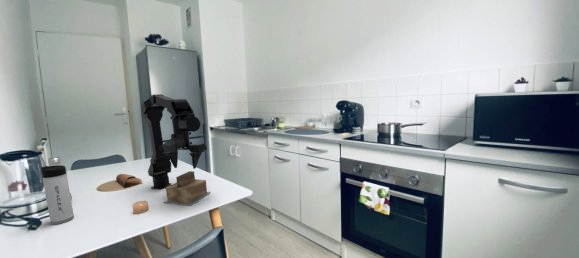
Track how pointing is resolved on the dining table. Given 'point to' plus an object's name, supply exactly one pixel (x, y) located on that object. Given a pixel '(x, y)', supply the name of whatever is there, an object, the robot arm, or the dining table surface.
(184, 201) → the cover
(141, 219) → the dining table surface
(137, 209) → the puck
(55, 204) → the travel mug
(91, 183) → the dining table surface
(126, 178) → the brown slipper
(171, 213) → the dining table surface
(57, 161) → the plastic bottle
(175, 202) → the mat
